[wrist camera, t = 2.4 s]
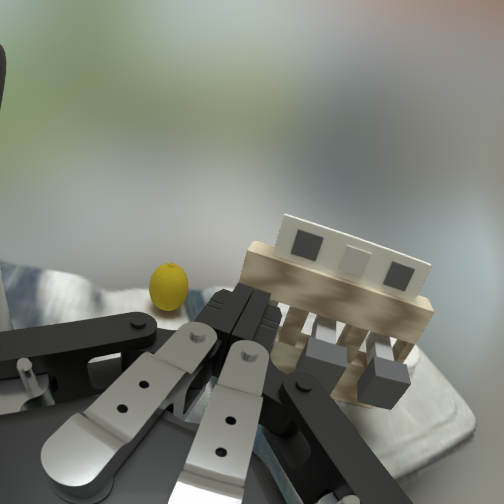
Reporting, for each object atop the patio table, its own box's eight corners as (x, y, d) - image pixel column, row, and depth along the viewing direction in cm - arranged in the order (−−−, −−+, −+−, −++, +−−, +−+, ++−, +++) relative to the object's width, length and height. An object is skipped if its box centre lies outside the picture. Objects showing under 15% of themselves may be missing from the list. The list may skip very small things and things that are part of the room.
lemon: (183, 324, 43) (191, 276, 40) (145, 318, 42) (148, 270, 39) (185, 302, 48) (192, 257, 45) (150, 296, 47) (154, 251, 44)
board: (218, 362, 38) (247, 250, 32) (232, 335, 44) (260, 232, 37) (370, 408, 35) (434, 311, 29) (369, 378, 41) (422, 286, 34)
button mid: (291, 384, 28) (305, 355, 27) (303, 327, 37) (314, 301, 36) (330, 395, 28) (346, 367, 26) (334, 337, 37) (346, 311, 35)
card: (271, 256, 32) (283, 215, 30) (273, 253, 33) (284, 213, 31) (414, 303, 30) (432, 266, 28) (413, 299, 30) (430, 263, 29)
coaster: (354, 367, 43) (364, 350, 42) (362, 333, 52) (370, 317, 50) (409, 389, 40) (421, 373, 39) (410, 353, 49) (420, 338, 47)
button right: (357, 402, 27) (375, 375, 26) (355, 343, 36) (369, 318, 35) (390, 409, 27) (410, 384, 25) (383, 351, 36) (398, 327, 34)
